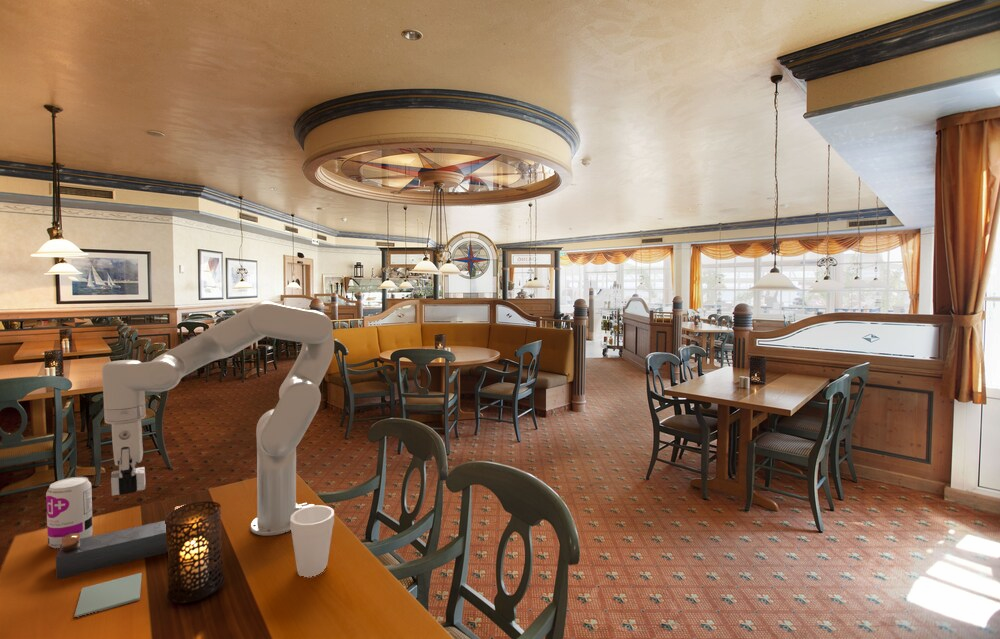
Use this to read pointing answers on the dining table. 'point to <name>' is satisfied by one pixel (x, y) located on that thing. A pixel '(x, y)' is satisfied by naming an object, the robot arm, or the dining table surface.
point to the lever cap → (139, 476)
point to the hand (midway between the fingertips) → (129, 488)
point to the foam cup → (312, 538)
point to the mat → (109, 594)
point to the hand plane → (109, 548)
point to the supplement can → (69, 509)
